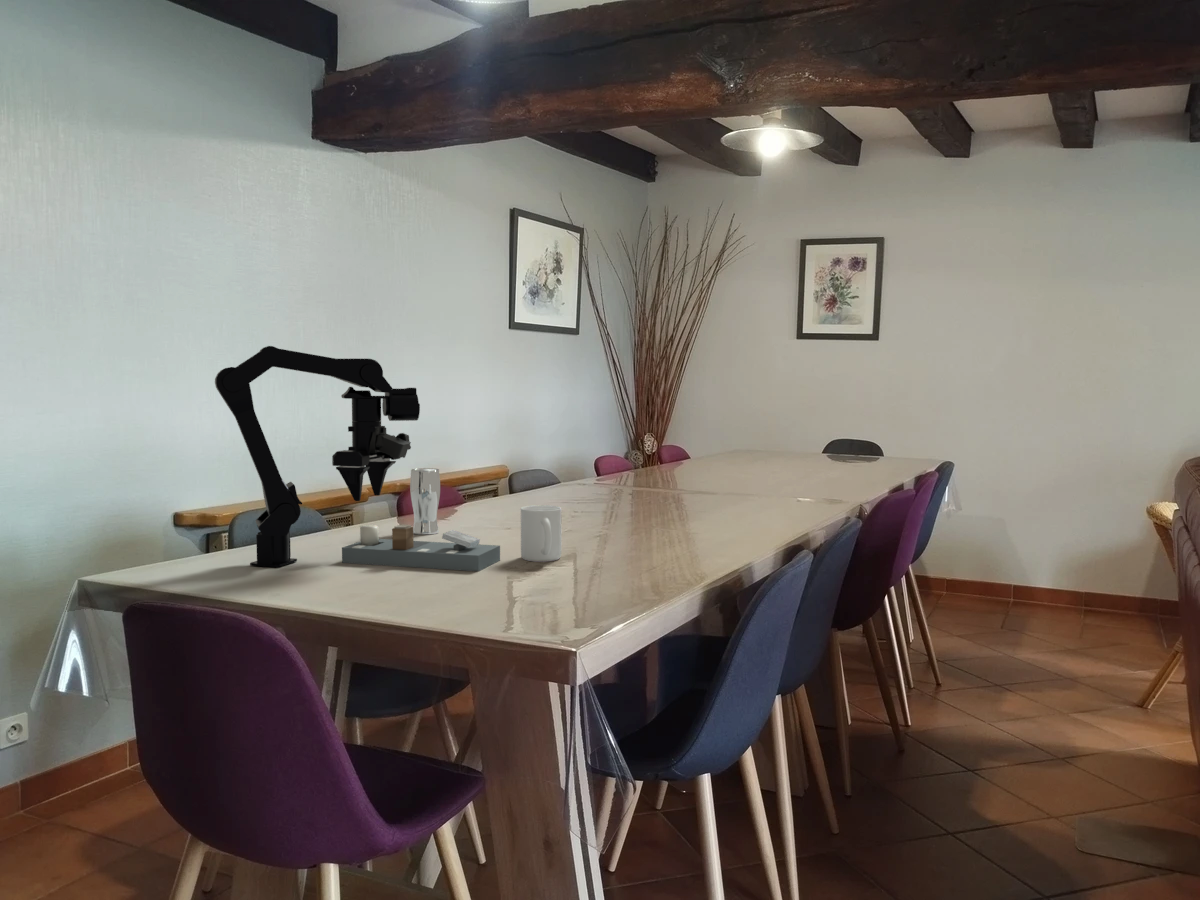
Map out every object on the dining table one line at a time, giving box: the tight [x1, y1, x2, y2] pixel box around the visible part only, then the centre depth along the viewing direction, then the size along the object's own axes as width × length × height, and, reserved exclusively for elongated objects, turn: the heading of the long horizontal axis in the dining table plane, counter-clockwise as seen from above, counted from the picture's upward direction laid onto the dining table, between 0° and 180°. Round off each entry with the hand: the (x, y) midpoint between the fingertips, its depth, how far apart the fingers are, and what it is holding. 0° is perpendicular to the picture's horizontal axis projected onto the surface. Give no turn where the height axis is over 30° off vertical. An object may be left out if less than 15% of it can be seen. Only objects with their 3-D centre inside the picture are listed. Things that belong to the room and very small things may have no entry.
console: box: [341, 538, 501, 572], centre depth 183 cm, size 11×29×4 cm, turn 75°
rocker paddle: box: [441, 529, 481, 548], centre depth 180 cm, size 5×6×1 cm
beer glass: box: [409, 467, 441, 536], centre depth 216 cm, size 7×7×15 cm
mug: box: [520, 504, 563, 563], centre depth 185 cm, size 12×8×10 cm
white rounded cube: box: [359, 524, 380, 546], centre depth 186 cm, size 4×4×4 cm
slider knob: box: [391, 524, 414, 550], centre depth 180 cm, size 3×3×4 cm
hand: (367, 498), depth 186 cm, fingers open, 9 cm apart
